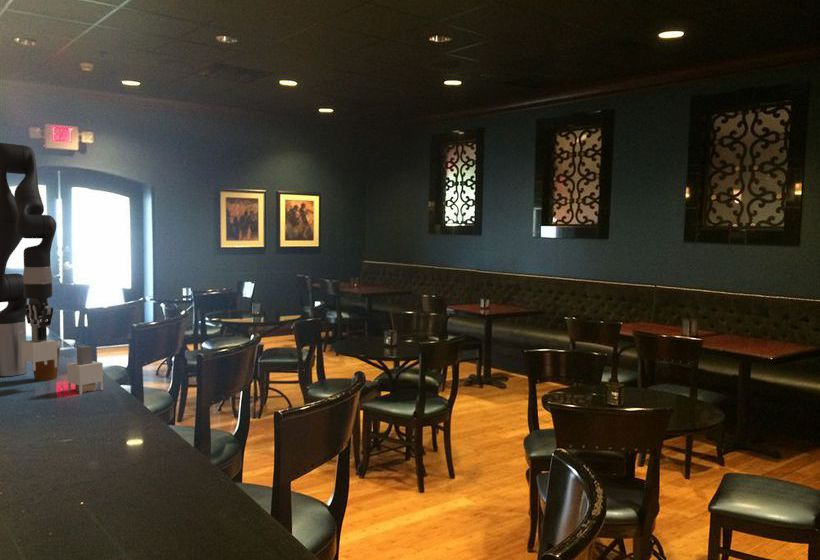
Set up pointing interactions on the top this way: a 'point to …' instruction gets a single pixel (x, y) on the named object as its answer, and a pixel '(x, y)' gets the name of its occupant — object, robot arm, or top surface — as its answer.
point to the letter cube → (86, 387)
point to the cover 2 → (84, 369)
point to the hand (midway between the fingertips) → (39, 338)
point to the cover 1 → (38, 349)
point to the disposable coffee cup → (47, 368)
